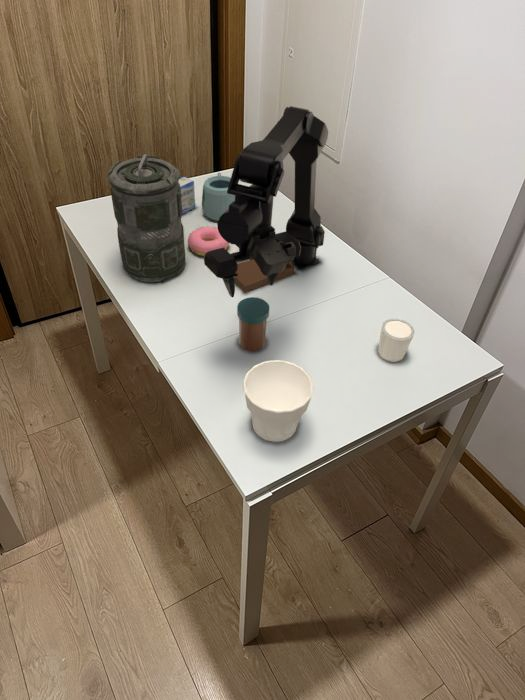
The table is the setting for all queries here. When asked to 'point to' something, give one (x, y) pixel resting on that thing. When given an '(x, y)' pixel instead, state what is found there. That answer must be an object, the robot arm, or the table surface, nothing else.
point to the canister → (148, 217)
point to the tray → (256, 275)
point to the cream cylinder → (395, 339)
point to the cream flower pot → (277, 398)
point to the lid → (253, 310)
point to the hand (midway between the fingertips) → (251, 290)
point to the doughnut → (206, 240)
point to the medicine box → (187, 194)
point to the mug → (216, 196)
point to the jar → (252, 335)
